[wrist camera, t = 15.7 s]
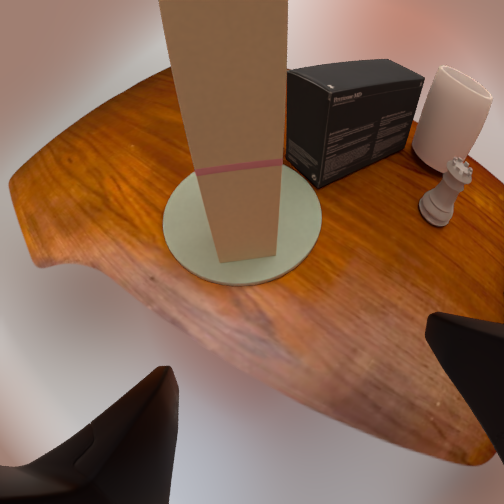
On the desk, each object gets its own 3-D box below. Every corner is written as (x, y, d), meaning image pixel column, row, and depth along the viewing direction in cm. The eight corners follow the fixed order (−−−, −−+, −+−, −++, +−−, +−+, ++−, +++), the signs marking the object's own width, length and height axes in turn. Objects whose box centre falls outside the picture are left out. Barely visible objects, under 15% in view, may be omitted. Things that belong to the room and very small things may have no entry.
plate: (284, 315, 23) (284, 313, 22) (135, 246, 26) (132, 243, 26) (338, 186, 30) (339, 182, 29) (214, 148, 34) (213, 144, 33)
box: (371, 124, 36) (388, 56, 26) (404, 150, 33) (429, 79, 23) (281, 156, 32) (285, 66, 22) (317, 190, 29) (334, 93, 19)
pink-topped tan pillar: (276, 255, 25) (288, -45, 5) (219, 263, 25) (152, -33, 5) (268, 219, 27) (268, -42, 7) (216, 226, 27) (166, -31, 7)
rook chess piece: (447, 234, 26) (481, 188, 19) (415, 218, 27) (446, 168, 20) (448, 208, 28) (477, 163, 21) (418, 193, 29) (444, 144, 22)
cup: (407, 167, 31) (443, 77, 19) (406, 135, 35) (432, 57, 23) (459, 190, 30) (503, 110, 17) (452, 155, 33) (484, 84, 21)
